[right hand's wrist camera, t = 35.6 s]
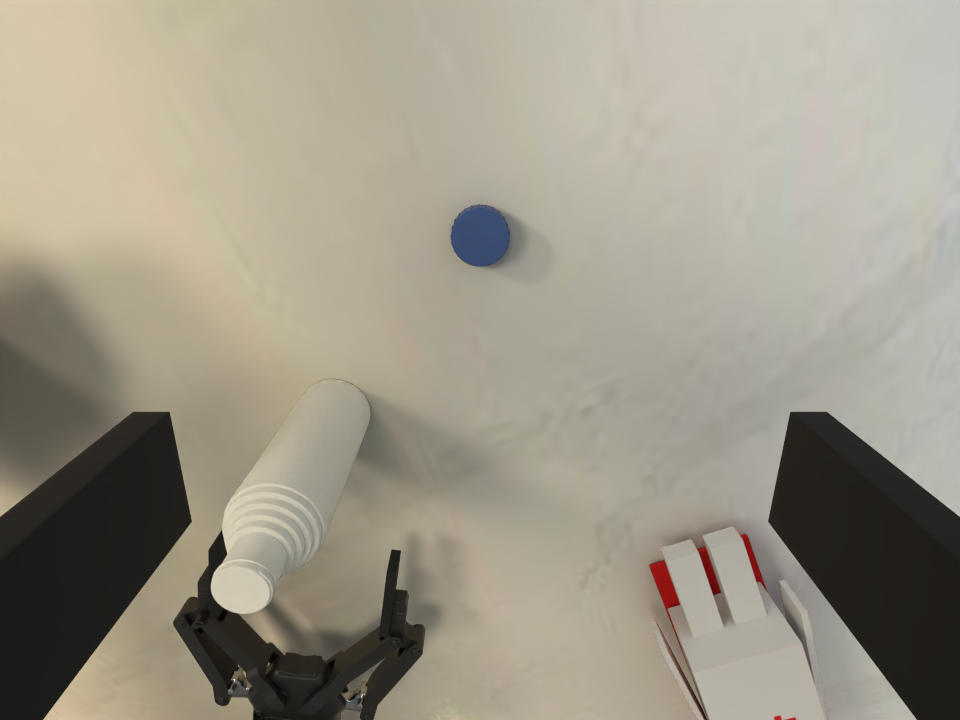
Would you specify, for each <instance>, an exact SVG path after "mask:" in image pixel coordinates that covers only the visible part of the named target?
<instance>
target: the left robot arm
mask: <svg viewBox="0 0 960 720" xmlns="http://www.w3.org/2000/svg"><path fill="white" fill-rule="evenodd" d="M400 554H401V551H399V550H392V551H391V555H390V560H389V565H388V569H387V575H386V584H385V592H384V600H383V608H382V617H381V625H380V627H379V628H377V629H376V630H374V631H373V632H372V633H370V634H369V635H367V636H366V637H365V638H363V639H362V640H360V641H359V642H358V643H356V644H355V645H353V646H352V647H351V648H349V649H348V650H346V651H345V652H343V651H340V652H338V653H337V654H336V655H334V656H333V657H331V658H330V659H329V660H327V661H325V660H323V659H322V656H314V655H313V656H302V655H299V654H296V653H288V652H286V655H283V654H282V653H281V651H280V650H279V649H278V648H277V647H276V646H275V645H274V644H273V643H268V644H267V643H266V642H265V641H264V640H263V639H262V638H261V637H260V636H259V635H258V634H257V633H256V632H255V631H254V630H253V629H252V628H251V627H250V626H249V625H248V624H247V623H246V622H245V621H244V619H243V618H242V617H241V616H240V615H239V614H238V613H234V612H231V611H229V610H226V609H225V608H223V607H222V606H220V605H219V604H218V603H217V602H216V600H215V599H214V597H213V595H212V592H211V582H212V578H213V574H214V572H215V571H216V569H217V568H218V567H219V566H220V565H221V564H222V563H223V561H224V559H225V558H226V556H227V550H226V546H225V542H224V537H223V532H222V531H221V532H220V534H219V535H218V537H217V538H216V540H215V541H214V543H213V544H212V546H211V547H210V549H209V566H208V567H207V568H206V570H205V571H204V573H203V574H202V576H201V578H200V579H199V581H198V598H197V597H190V598H188V600H187V601H186V603H185V604H184V606H183V607H182V609H181V610H180V612H179V614H178V615H177V617H176V618H175V620H174V621H173V625H174V627H175V628H176V630H177V631H178V633H179V635H180V636H181V638H182V639H183V641H184V642H185V644H186V645H187V647H188V649H189V650H190V652H191V653H192V655H193V656H194V658H195V659H196V661H197V663H198V664H199V666H200V667H201V669H202V670H203V672H204V673H205V675H206V677H207V678H208V680H209V681H210V683H211V684H212V686H213V691H214V697H215V702H216V703H217V704H218V705H220V706H226V705H228V703H229V702H230V699H231V697H245V698H248V699H249V701H250V703H251V704H252V706H253V708H254V711H253V720H340V716H341V712H342V711H343V710H344V709H349V710H354V711H359V712H361V714H360V719H361V720H373V719H374V716H375V712H376V709H377V705H378V704H379V703H380V702H381V701H382V699H383V698H384V697H385V696H386V695H387V694H388V693H389V692H390V690H391V689H392V688H393V687H394V686H395V685H396V684H397V682H398V681H399V680H400V679H401V678H402V677H403V676H404V675H405V673H406V672H407V671H408V670H409V669H410V668H411V667H412V665H413V664H414V663H415V662H416V661H417V660H418V659H419V658H420V656H421V655H422V653H423V645H424V636H425V627H424V626H423V625H421V624H415V625H413V626H412V625H410V624H409V623H407V621H406V613H407V606H408V599H409V595H408V592H407V591H405V590H397V589H396V585H397V577H398V570H399V562H400ZM385 657H386V658H385ZM384 658H385V659H384ZM383 659H384V660H383ZM381 660H383V661H382V662H381V664H380V665H379V666H378V667H377V668H376V669H375V671H374V672H373V673H372V674H371V676H370V678H369V680H368V682H366V681H364V682H362V685H361V686H359V687H358V688H357V690H356V691H354V692H349V690H348V687H347V684H348V683H349V682H351V681H352V680H354V679H355V678H357V677H358V676H360V675H361V674H362V673H364V672H365V671H367V670H368V669H370V668H371V667H372V666H374V665H375V664H377V663H378V662H380V661H381ZM268 662H269V663H270V665H268ZM238 665H239V666H240V667H238ZM267 665H268V666H267ZM243 671H245V672H246V677H245V676H244V674H243Z"/></svg>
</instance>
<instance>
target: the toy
mask: <svg viewBox="0 0 960 720" xmlns="http://www.w3.org/2000/svg"><path fill="white" fill-rule="evenodd" d="M702 537H703V540H704V543H705V546H706V547H704V548H701V549H696V547H695V545H694V543H693V542H692V540H691V539H689V540H686V541H682V542H679V543H676V544H673V545H669V546H666V547H663V548H661V551H662V554H663V557H664V559H665V560H664V561H661V562H658V563H654V564H651V565H649V566H650V569H651V572H652V574H653V577H654V579H655V582H656V585H657V587H658V590H659V592H660V595H661V598H662V600H663V603H664V605H665V608H666V611H667V613H668V616H669V618H670V621H671V624H672V626H673V629H674V631H675V634H676V637H677V639H678V642H679V644H680V647H681V650H682V652H683V655H684V657H685V660H686V663H687V665H688V668H689V670H690V673H691V676H692V678H693V681H694V684H695V687H696V689H697V692H698V695H699V698H700V701H701V704H702V706H703V709H704V711H703V709H702V707H701V705H700V703H699V701H698V699H697V698H696V696H695V694H694V692H693V690H692V688H691V686H690V684H689V682H688V681H687V679H686V677H685V675H684V673H683V671H682V669H681V667H680V665H679V663H678V662H677V660H676V658H675V656H674V654H673V652H672V650H671V648H670V646H669V645H668V643H667V641H666V639H665V637H664V635H663V633H662V631H661V629H660V627H659V626H658V624H657V622H656V620H655V618H654V619H651V620H649V622H650V624H651V627H652V629H653V632H654V634H655V637H656V640H657V642H658V645H659V647H660V650H661V652H662V655H663V657H664V659H665V661H666V663H667V665H668V666H669V668H670V670H671V672H672V674H673V676H674V678H675V679H676V681H677V683H678V685H679V687H680V689H681V691H682V693H683V694H684V696H685V698H686V700H687V702H688V704H689V706H690V708H691V709H692V711H693V713H694V715H695V717H696V719H697V720H828V715H827V709H826V704H825V699H824V693H823V688H822V683H821V678H820V672H819V667H818V662H817V656H816V651H815V646H814V641H813V635H812V630H811V625H810V619H809V614H808V612H807V610H806V609H805V608H804V606H803V605H802V603H801V602H800V600H799V599H798V597H797V596H796V595H795V593H794V592H793V590H792V589H791V587H790V586H789V585H788V583H787V582H786V580H781V581H779V585H780V590H781V595H782V600H783V605H784V610H785V615H786V619H785V618H784V616H783V615H782V613H781V612H780V610H779V609H778V607H777V606H776V605H775V603H774V602H773V600H772V599H771V597H770V596H769V594H768V593H767V590H766V587H765V584H764V582H763V579H762V576H761V573H760V570H759V567H758V565H757V562H756V559H755V556H754V553H753V550H752V548H751V545H750V542H749V539H748V536H747V535H746V534H744V535H739V533H738V532H737V531H736V529H735V528H734V526H732V527H728V528H725V529H722V530H719V531H715V532H712V533H709V534H705V535H702ZM786 620H787V621H786ZM704 712H705V714H704ZM705 715H706V716H705Z"/></svg>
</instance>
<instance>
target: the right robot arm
mask: <svg viewBox="0 0 960 720" xmlns="http://www.w3.org/2000/svg"><path fill="white" fill-rule="evenodd" d="M191 522H192V520H191V515H190V510H189V505H188V500H187V495H186V491H185V486H184V481H183V476H182V471H181V466H180V461H179V456H178V451H177V446H176V441H175V436H174V431H173V427H172V422H171V417H170V412H133V413H131V414H130V415H129V416H127V417H126V418H125V419H124V420H122V421H121V422H120V423H119V424H117V425H116V426H115V427H114V428H112V429H111V430H110V431H109V432H107V433H106V434H105V435H103V436H102V437H101V438H100V439H98V440H97V441H96V442H95V443H93V444H92V445H91V446H90V447H88V448H87V449H86V450H84V451H83V452H82V453H81V454H79V455H78V456H77V457H76V458H74V459H73V460H72V461H71V462H69V463H68V464H67V465H65V466H64V467H63V468H62V469H60V470H59V471H58V472H57V473H55V474H54V475H53V476H52V477H50V478H49V479H48V480H46V481H45V482H44V483H43V484H41V485H40V486H39V487H38V488H36V489H35V490H34V491H33V492H31V493H30V494H29V495H28V496H26V497H25V498H24V499H22V500H21V501H20V502H19V503H17V504H16V505H15V506H14V507H12V508H11V509H10V510H9V511H7V512H6V513H5V514H3V515H2V516H1V517H0V720H43V719H44V718H45V716H46V715H47V714H48V712H49V711H50V710H51V708H52V707H53V706H54V704H55V703H56V702H57V700H58V699H59V698H60V696H61V695H62V694H63V692H64V691H65V690H66V688H67V687H68V686H69V684H70V683H71V682H72V680H73V679H74V678H75V676H76V675H77V674H78V672H79V671H80V670H81V668H82V667H83V666H84V664H85V663H86V662H87V660H88V659H89V658H90V656H91V655H92V654H93V652H94V651H95V650H96V648H97V647H98V646H99V644H100V643H101V642H102V640H103V639H104V638H105V636H106V635H107V634H108V632H109V631H110V630H111V628H112V627H113V626H114V624H115V623H116V622H117V620H118V619H119V618H120V616H121V615H122V614H123V612H124V611H125V610H126V608H127V607H128V606H129V604H130V603H131V602H132V600H133V599H134V598H135V596H136V595H137V594H138V593H139V591H140V590H141V589H142V587H143V586H144V585H145V583H146V582H147V581H148V579H149V578H150V577H151V575H152V574H153V573H154V571H155V570H156V569H157V567H158V566H159V565H160V563H161V562H162V561H163V559H164V558H165V557H166V555H167V554H168V553H169V551H170V550H171V549H172V547H173V546H174V545H175V543H176V542H177V541H178V539H179V538H180V537H181V535H182V534H183V533H184V531H185V530H186V529H187V527H188V526H189V525H190V523H191ZM768 522H769V523H770V525H771V526H772V527H773V529H774V530H775V531H776V533H777V534H778V535H779V537H780V538H781V539H782V541H783V542H784V543H785V545H786V546H787V547H788V549H789V550H790V551H791V553H792V554H793V555H794V557H795V558H796V559H797V561H798V562H799V563H800V565H801V566H802V567H803V569H804V570H805V571H806V573H807V574H808V575H809V577H810V578H811V579H812V581H813V582H814V583H815V585H816V586H817V587H818V589H819V590H820V591H821V593H822V594H823V595H824V596H825V598H826V599H827V600H828V602H829V603H830V604H831V606H832V607H833V608H834V610H835V611H836V612H837V614H838V615H839V616H840V618H841V619H842V620H843V622H844V623H845V624H846V626H847V627H848V628H849V630H850V631H851V632H852V634H853V635H854V636H855V638H856V639H857V640H858V642H859V643H860V644H861V646H862V647H863V648H864V650H865V651H866V652H867V654H868V655H869V656H870V658H871V659H872V660H873V662H874V663H875V664H876V666H877V667H878V668H879V670H880V671H881V672H882V674H883V675H884V676H885V678H886V679H887V680H888V682H889V683H890V684H891V686H892V687H893V688H894V690H895V691H896V692H897V694H898V695H899V696H900V698H901V699H902V700H903V702H904V703H905V704H906V706H907V707H908V708H909V710H910V711H911V712H912V714H913V715H914V716H915V718H916V719H917V720H960V517H959V516H958V515H957V514H955V513H954V512H953V511H951V510H950V509H949V508H948V507H946V506H945V505H944V504H943V503H941V502H940V501H939V500H938V499H936V498H935V497H934V496H932V495H931V494H930V493H929V492H927V491H926V490H925V489H924V488H922V487H921V486H920V485H919V484H917V483H916V482H915V481H914V480H912V479H911V478H910V477H908V476H907V475H906V474H905V473H903V472H902V471H901V470H900V469H898V468H897V467H896V466H895V465H893V464H892V463H891V462H889V461H888V460H887V459H886V458H884V457H883V456H882V455H881V454H879V453H878V452H877V451H876V450H874V449H873V448H872V447H870V446H869V445H868V444H867V443H865V442H864V441H863V440H862V439H860V438H859V437H858V436H857V435H855V434H854V433H853V432H851V431H850V430H849V429H848V428H846V427H845V426H844V425H843V424H841V423H840V422H839V421H838V420H836V419H835V418H834V417H833V416H831V415H830V414H829V413H827V412H790V417H789V422H788V427H787V431H786V436H785V441H784V446H783V451H782V456H781V461H780V466H779V471H778V476H777V481H776V486H775V491H774V495H773V500H772V505H771V510H770V515H769V520H768Z"/></svg>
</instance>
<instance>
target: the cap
mask: <svg viewBox="0 0 960 720" xmlns="http://www.w3.org/2000/svg"><path fill="white" fill-rule="evenodd" d="M509 234H510V233H509V230H508V225H507V223H506V222H505V219H504V217H503V216H502V215H501V214H500V212H499V211H497V210H495V209H494V208H493V207H489V206H487V205H480V204H478V205H475V206H471V207H469V208H467V209H466V208H465V210H464V211H462V212H461V213H459V216H458V217H457V218H456V219H455V221H454V225H453V226H452V233H451V241H452V243H451V244H452V246H453V249H454V251H455V253H456V254H457V255H458V257H459V258H460V259H461V260H463V261H464V262H466V263H467V264H470V265H473V266H487V265H491V264H493V263H495V262H496V261H498V260H499V259H500V258H501V257H502V256H503V255H504V253H505V251H506V249H507V247H508V243H509Z"/></svg>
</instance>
